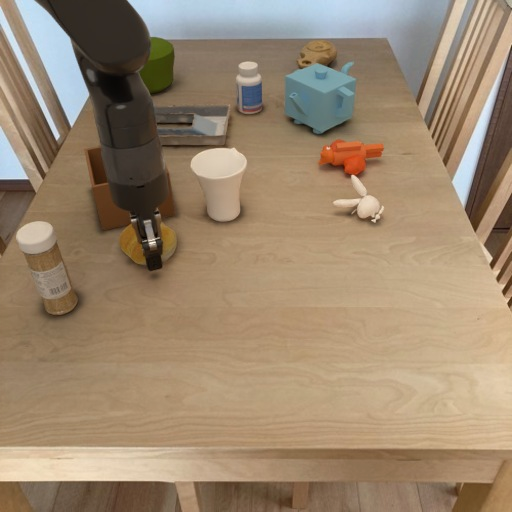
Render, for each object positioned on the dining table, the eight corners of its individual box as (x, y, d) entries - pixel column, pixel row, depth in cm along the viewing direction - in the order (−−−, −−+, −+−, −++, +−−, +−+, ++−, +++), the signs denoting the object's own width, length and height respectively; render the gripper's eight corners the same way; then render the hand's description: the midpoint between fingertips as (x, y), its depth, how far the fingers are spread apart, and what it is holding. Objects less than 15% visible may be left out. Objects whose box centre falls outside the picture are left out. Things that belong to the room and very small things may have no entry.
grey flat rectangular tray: (227, 148, 109) (226, 135, 107) (101, 148, 109) (98, 135, 107) (231, 116, 118) (230, 103, 116) (116, 116, 119) (113, 103, 117)
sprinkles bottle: (76, 289, 80) (51, 216, 71) (80, 311, 77) (54, 237, 68) (43, 298, 79) (14, 224, 70) (46, 320, 76) (15, 246, 67)
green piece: (183, 77, 133) (178, 29, 126) (170, 100, 124) (163, 50, 117) (133, 75, 135) (125, 27, 127) (116, 97, 126) (107, 48, 118)
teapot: (263, 122, 116) (263, 70, 108) (323, 95, 125) (326, 45, 117) (318, 151, 107) (322, 96, 99) (378, 120, 116) (385, 67, 108)
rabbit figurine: (370, 231, 89) (331, 200, 89) (365, 234, 93) (328, 204, 93) (393, 202, 89) (354, 171, 89) (387, 206, 93) (349, 177, 93)
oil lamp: (297, 81, 130) (298, 60, 127) (291, 57, 141) (292, 37, 138) (342, 79, 131) (344, 58, 127) (333, 55, 141) (334, 35, 138)
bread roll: (145, 275, 82) (140, 254, 79) (113, 246, 87) (108, 226, 84) (189, 249, 86) (187, 229, 83) (156, 223, 91) (153, 204, 88)
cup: (260, 205, 94) (259, 154, 88) (227, 235, 89) (223, 183, 82) (218, 189, 98) (214, 139, 91) (184, 216, 92) (178, 165, 86)
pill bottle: (267, 108, 120) (267, 64, 114) (250, 117, 118) (249, 73, 111) (249, 100, 123) (248, 57, 117) (232, 109, 120) (229, 65, 114)
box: (175, 215, 93) (168, 172, 87) (103, 230, 90) (91, 187, 84) (161, 177, 101) (154, 136, 96) (94, 190, 99) (84, 148, 93)
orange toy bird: (381, 129, 101) (317, 135, 100) (392, 161, 98) (325, 168, 96) (375, 148, 106) (313, 154, 104) (385, 179, 102) (321, 186, 101)
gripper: (99, 146, 74) (123, 245, 86) (111, 200, 65) (136, 303, 76) (155, 136, 76) (171, 235, 87) (174, 188, 66) (189, 291, 78)
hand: (154, 267), depth 82 cm, fingers closed
